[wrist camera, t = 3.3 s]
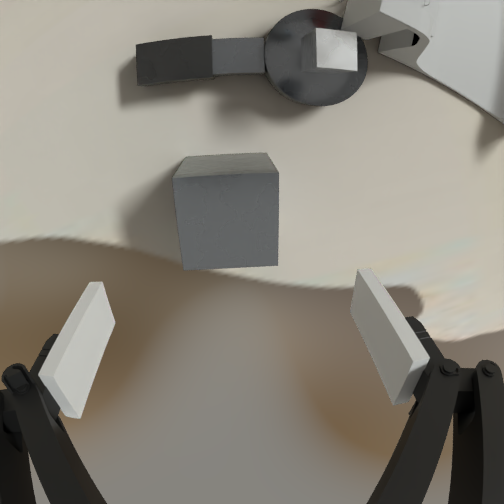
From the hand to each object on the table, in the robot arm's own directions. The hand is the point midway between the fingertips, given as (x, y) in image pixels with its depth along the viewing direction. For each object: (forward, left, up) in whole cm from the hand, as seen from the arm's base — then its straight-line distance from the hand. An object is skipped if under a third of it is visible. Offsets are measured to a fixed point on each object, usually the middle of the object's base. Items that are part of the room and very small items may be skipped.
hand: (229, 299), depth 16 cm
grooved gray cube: (0, 0, -17) cm, 17 cm away
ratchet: (+8, +13, -17) cm, 23 cm away
